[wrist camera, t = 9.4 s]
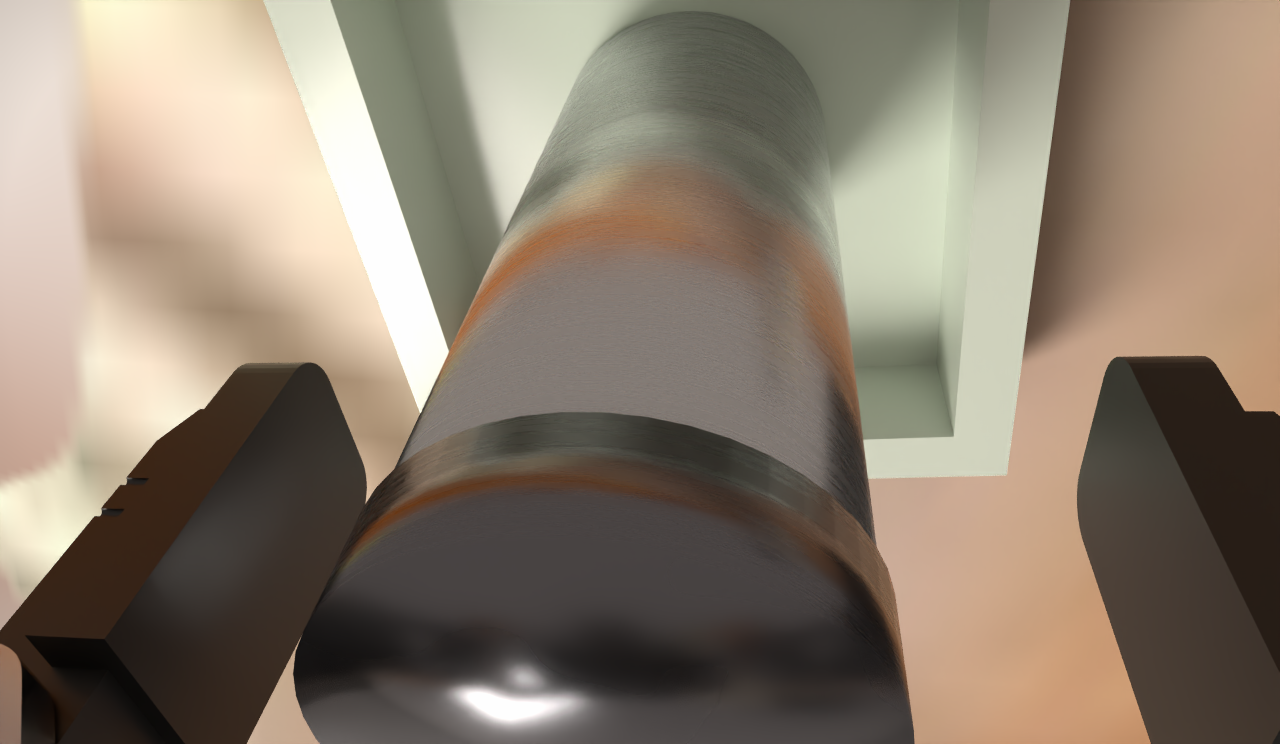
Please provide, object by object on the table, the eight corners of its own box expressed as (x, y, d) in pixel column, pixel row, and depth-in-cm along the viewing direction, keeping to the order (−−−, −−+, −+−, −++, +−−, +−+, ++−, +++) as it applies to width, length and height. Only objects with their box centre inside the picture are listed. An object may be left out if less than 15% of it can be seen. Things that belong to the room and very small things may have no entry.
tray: (1041, -244, 12) (1100, -228, 10) (979, 382, 19) (1006, 475, 17) (311, -128, 14) (228, -93, 12) (482, 403, 21) (448, 488, 19)
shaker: (827, -15, 14) (929, 530, 5) (833, 254, 17) (906, 895, 8) (530, 23, 15) (185, 544, 6) (585, 272, 18) (404, 869, 9)
